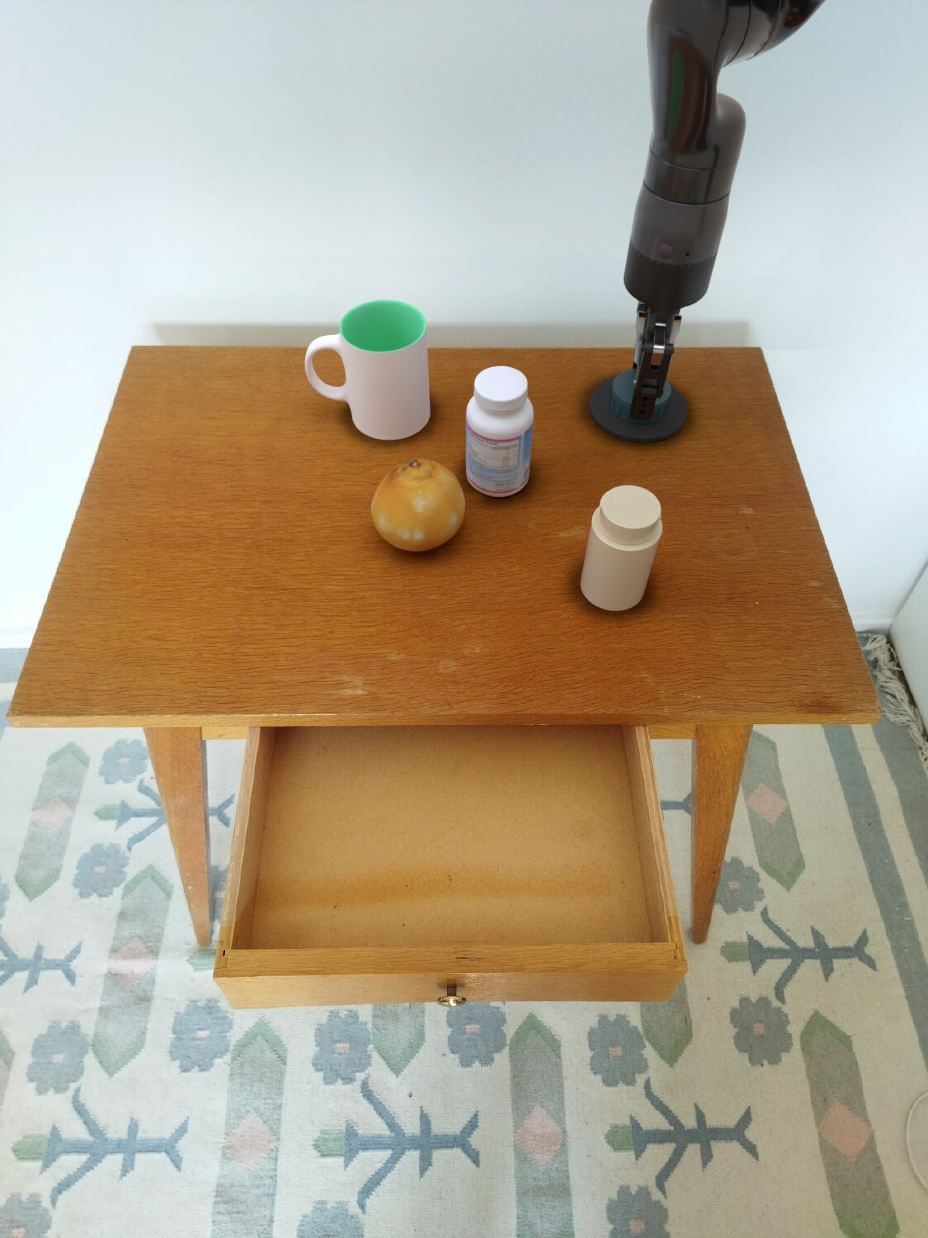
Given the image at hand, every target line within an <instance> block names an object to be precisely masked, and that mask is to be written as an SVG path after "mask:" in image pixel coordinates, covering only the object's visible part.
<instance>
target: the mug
mask: <svg viewBox="0 0 928 1238" xmlns="http://www.w3.org/2000/svg"><path fill="white" fill-rule="evenodd" d="M338 327H339V333H336V334H328V335H323V336H322V335H321V336H319V337H317V338H315V339H314V340H312V341H311V343H310V344H309V345H308V347H307V349H306V352H305V357H304V371H305V374H306V377H307V380H308V382H309V384H310V386H311V387H312V388H313V389H314V391H316V393H317V394H320V395H321V396H323V397H325V398H327V399H329V400H333V401H342V402H346V403H347V404H348V406H349V409H350V412H351V420H352V422H353V424H354V426H355V427H356V429H357V430H358V431H359V432H360V433H362V434H364V435H366V436H368V437H370V438H373V439H375V440H381V441H396V440H402V439H407V438H409V437H411V436H413V435H415V434H417V433H419V432H420V431H422V429H424V427H426V425H427V424H428V422H429V420H430V418H431V398H430V377H429V376H430V375H429V353H428V333H427V332H428V331H427V320H426V317H425V316H424V314H423V313H422V312H421V311H420V310H419V309H418V308H417V307H416V306H413V305H412V304H409V303H408V302H403V301H400V300H393V299H378V300H371V301H367V302H366V301H365V302H363V303H361V304H358V305H356V306H355V307H353V308H351V309H350V310H348V311H347V312H346V313H345V314H344V315H343V316H342V318H341V319H340V322H339V326H338ZM323 350H332V351H333V352H335V353H337V355H339V357H340V359H341V361H342V364H343V368H344V373H345V374H344V375H345V382H344V384H343V385H341V386H333V385H329V384H327V383H326V382H324V381H323V380H321V378H320V377H319V376H318V375H317V372H316V371H315V369H314V365H313V357H314V355H315V354H316V353H318V352H319V351H323Z"/></svg>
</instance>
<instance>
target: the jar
mask: <svg viewBox="0 0 928 1238" xmlns="http://www.w3.org/2000/svg"><path fill="white" fill-rule="evenodd" d="M661 506H662V505H661V503H660V501H659V499H658V498H657V496H656V495H655V494H654V493H652V491H649V489H646V488H643V487H642V486H639V485H638V486H637V485H633V484H624V485H619V486H615V487H613V488H611V489H609V490H608V491H606V492H605V493H604V494H603V495H602V497H601V498H600V501H599V505H598V507H597V508H596V509H595V511H593V514H592V516H591V522H590V527H589V532H588V538H587V543H586V547H585V553H584V559H583V565H582V570H581V577H580V581H579V584H580V585H579V586H580V590H581V592H582V594H583V596H584V597H585V599H587V600H588V602H589V603H591V604H592V605H594V606H595V607H597V608H599V609H602V610H605V611H612V612H620V611H621V612H622V611H626V610H629V609H631V608H634V607H635V606H636V605H638V604H639V603H640V602H641V600H643V597H644V596H645V592H646V588H647V585H648V581H649V578H650V575H651V573H652V572H651V571H652V568H653V565H654V561H655V557H656V554H657V552H658V547H659V545H660V541H661V539H662V534H663V522H662V507H661Z"/></svg>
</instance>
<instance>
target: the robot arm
mask: <svg viewBox="0 0 928 1238" xmlns="http://www.w3.org/2000/svg"><path fill="white" fill-rule="evenodd" d="M826 1H827V0H651V1H650V3H649V4H650V5H649V7H648V13H647V20H646V49H647V63H648V64H647V65H648V77H649V95H650V106H651V118H652V119H651V120H652V130H651V133H650V139H649V144H648V145H649V147H648V151H647V157H646V162H645V168H644V169H645V170H644V173H643V179H642V183H641V187H640V190H639V192H638V193H639V194H638V197H637V199H636V204H635V207H634V214H633V219H632V224H631V231H630V236H629V241H628V248H627V255H626V261H625V266H624V271H623V284H624V288H625V290H626V291H627V293H628V294H630V296H631V297H632V298H634V299H635V300H637V306H636V319H635V330H636V337H635V345H634V351H633V356H632V358H633V361H632V369H637V371H636V377H635V380H634V381H633V385H634V390H633V397H632V402H631V406H630V413H629V416H630V418H632V419H639V420H650V419H651V418H652V415H653V411H654V406H655V402H656V398H659V399H661V396H662V395H663V393H664V389H663V388H664V385H665V381H666V379H667V376H668V373H669V368H670V365H671V364H672V359H673V355H674V353H675V342H676V338H677V336H678V335H679V334H680V330H681V325H682V320H683V319H682V318H683V315H682V314H680V313H681V309H683V308H686V307H690V306H693V305H694V304H697V303H698V302H700V301H701V300H702V299H703V298H704V297H705V296H706V294H707V292H708V290H709V287H710V283H711V280H712V275H713V271H714V268H715V263H716V260H717V256H718V253H719V249H720V245H721V242H722V237H723V233H724V230H725V226H726V223H727V217H728V213H729V204H730V196H731V191H732V188H733V184H734V180H735V176H736V173H737V169H738V165H739V160H740V156H741V154H742V153H741V152H742V149H743V145H744V141H745V136H746V131H747V116H746V115H747V114H746V112H745V110H744V107H743V106H742V104H741V103H740V102H739V101H738V100H736V99H735V98H733V97H731V96H730V95H727V94H725V93H722V92H718V83H719V82H718V81H719V78H720V74H721V71H722V69H724V68H727V67H730V66H733V65H737V64H740V63H743V62H746V61H749V60H753V59H756V58H759V57H761V56H763V55H765V54H768V53H769V52H771V51H772V50H774V49H776V48H778V47H779V46H780V45H782V44H784V43H785V42H786V41H788V40H789V39H790V38H791V37H792V36H793V35H795V34H796V33H797V32H798V31H800V30H801V29H802V28H803V26H805V25H806V23H808V22H809V20H810V19H811V18H812V17H813V16H814V15H815V13H817V11H819V9H820V8H821V7H822V6H823V5H824V3H826Z"/></svg>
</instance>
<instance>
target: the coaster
mask: <svg viewBox="0 0 928 1238" xmlns="http://www.w3.org/2000/svg"><path fill="white" fill-rule="evenodd" d="M617 376H618V375H617ZM617 376H613V377H610V378H608V379H606V380H604V381H602V382H600V383H599V384H598V385H597V386H596V387H595V388H594V390H593V391H592V393H591V395H590V398H589V404H588V408H589V409H588V410H589V415H590V417H591V419H592V420H593V422H594V423H595V424H596V426H598V427H599V428H600V429H601V430H602V431H603V432H605V433H607V434H608V435H610V436H612V437H614V438H616V439H619V440H622V441H625V442H631V443H637V444H648V443H649V444H650V443H656V442H657V443H658V442H661V441H664V440H667V439H669V438H671V437H673V436H674V435H676V434H677V433H679V432H680V430H681V429H682V428H683V427H684V425H685V423H686V420H687V417H688V405H687V401H686V399H685V398H684V396H683V395H682V394H681V392H680V391H679V390H677V388H675V387H674V386H673V385H672V384H670V386H671V395H670V397H671V398H670V402H669V406H668V410H667V411H666V413H665V415H664V416H663V417H662V418H661V419H659V420H658V421H655V422H652V423H648V424H635V423H631V422H627V421H625V420H623V419H621V418H619V417H618V416H616V415H615V414H614V412H613V411H612V410H611V407H610V405H609V402H610V393H611V387H612V385H613V381H614V379H615V378H616V377H617Z"/></svg>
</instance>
